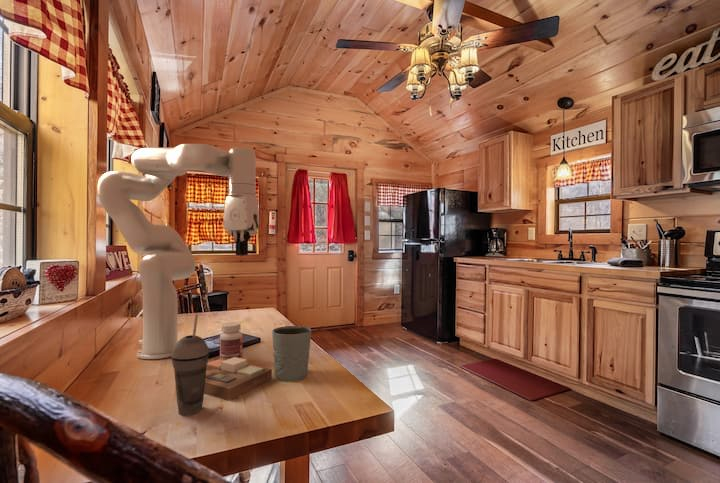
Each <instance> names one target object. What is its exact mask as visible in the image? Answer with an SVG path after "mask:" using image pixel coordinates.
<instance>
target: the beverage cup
mask: <svg viewBox="0 0 720 483" xmlns="http://www.w3.org/2000/svg"><path fill="white" fill-rule="evenodd" d="M198 316H199V315H198V314H195V316H194V321H193V322H194V324H193V332H192V334H190V335H186V336H183V337H182V338H180V339H179V340H178V342H177V343H176V345H175V346H174V349H173V352H172V356H171V357H170V358H171V364H172V367H173V372H174V380H175V393H176V405H177V408H178V414H179V416H193V415H196V414H198V413H200V412H201V411H203V410H202V409H203V404H204V396H205V393H204V387H205V376H206V365H207V363H209V362H208V361H209V356H210V352H209V346H208V344H207V343H206V341H205V340H204V339H203V338H202V337H200V336H199V335H196V334H197V325H198V318H199V317H198ZM192 414H193V415H192Z"/></svg>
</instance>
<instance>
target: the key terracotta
mask: <svg viewBox="0 0 720 483" xmlns="http://www.w3.org/2000/svg"><path fill="white" fill-rule="evenodd" d="M222 361H225V360H222V359H220V358H219V359H216V360H213V361H210V362H207V365H206V367H209V368H213V369H217V370H218V369H220V368H221V362H222Z"/></svg>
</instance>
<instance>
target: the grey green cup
mask: <svg viewBox="0 0 720 483" xmlns="http://www.w3.org/2000/svg"><path fill="white" fill-rule="evenodd" d="M312 331H313V330H312V329H311V328H310V327H307V326H301V325H287V326H286V325H285V326H279V327H275V328H273V329H272V331H271V333H272V335H271V336H272V345H273V346H272V347H273V348H272V349H273V362H274V365H273V366H274V368H273V370H274V378H275V379H276V380H278V381H281V382H297V381H301V380H304V379H305V378H306V377H308V374H309V373H308V372H309V371H308V370H309V357H310V349H311V348H310V347H311V339H312Z"/></svg>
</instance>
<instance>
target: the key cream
mask: <svg viewBox="0 0 720 483" xmlns="http://www.w3.org/2000/svg"><path fill="white" fill-rule="evenodd" d="M247 364H248V359H246V358H242V359H241V358H236V357H233V358H230V359H228V360H225V361H222V362H221V370H224V371H228V372H232V373H235V372H237V371H238V370H240V369H243V368H245V367H247Z"/></svg>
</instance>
